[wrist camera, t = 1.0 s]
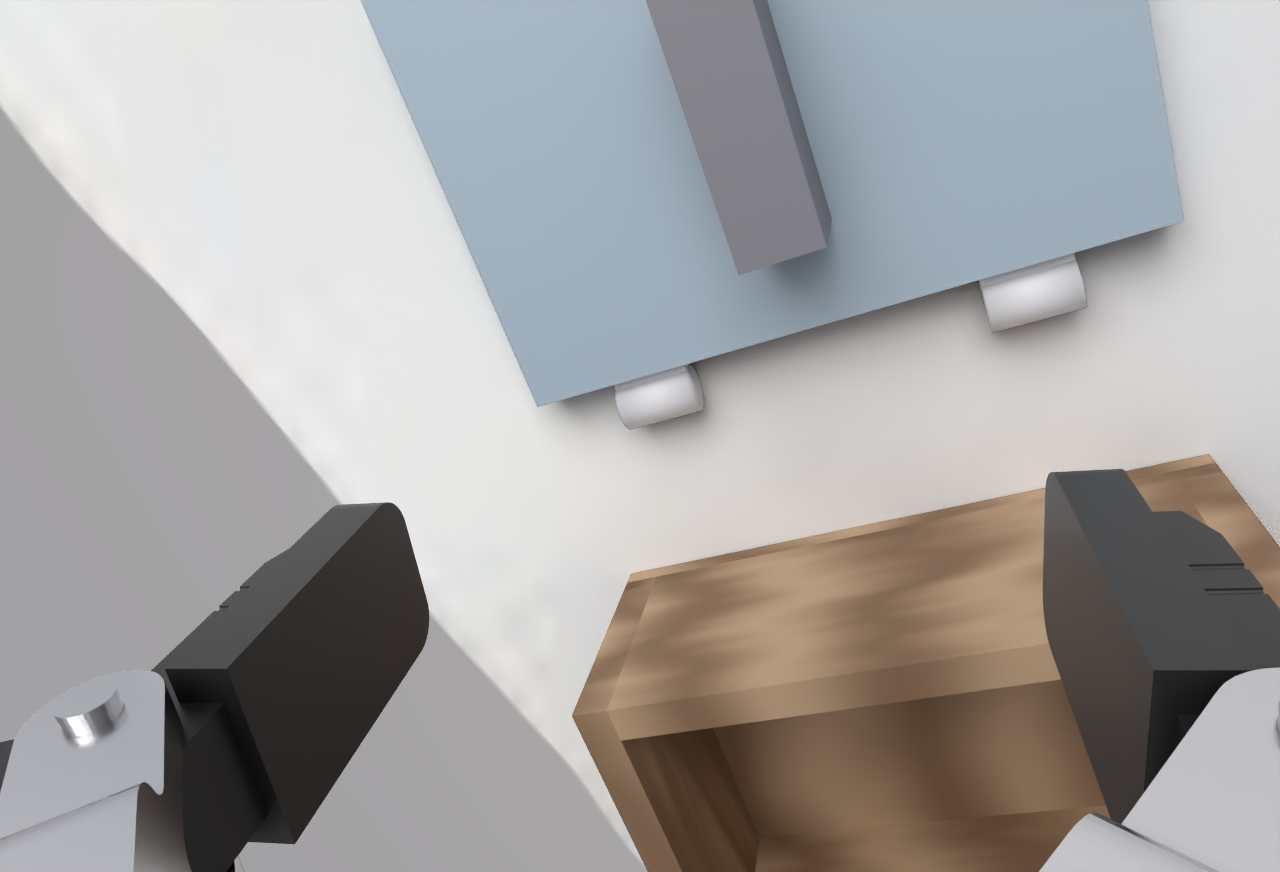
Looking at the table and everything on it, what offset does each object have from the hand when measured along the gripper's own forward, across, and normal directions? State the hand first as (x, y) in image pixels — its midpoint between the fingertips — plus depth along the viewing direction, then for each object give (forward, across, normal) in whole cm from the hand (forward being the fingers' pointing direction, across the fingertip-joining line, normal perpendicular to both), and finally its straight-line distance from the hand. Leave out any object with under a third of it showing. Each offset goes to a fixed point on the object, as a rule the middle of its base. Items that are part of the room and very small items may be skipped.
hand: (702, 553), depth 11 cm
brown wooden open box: (+19, -5, +18) cm, 27 cm away
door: (+19, 0, -4) cm, 20 cm away
